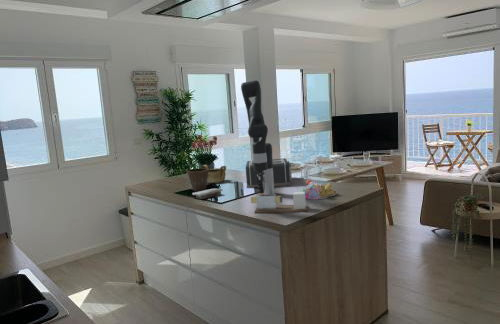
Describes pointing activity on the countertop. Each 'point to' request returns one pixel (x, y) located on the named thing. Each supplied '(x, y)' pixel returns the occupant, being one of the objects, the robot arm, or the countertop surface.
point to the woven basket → (215, 174)
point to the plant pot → (198, 178)
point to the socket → (299, 200)
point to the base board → (282, 209)
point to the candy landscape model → (318, 190)
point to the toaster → (279, 173)
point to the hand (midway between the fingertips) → (262, 192)
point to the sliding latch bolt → (254, 199)
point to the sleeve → (266, 202)
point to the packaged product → (207, 193)
